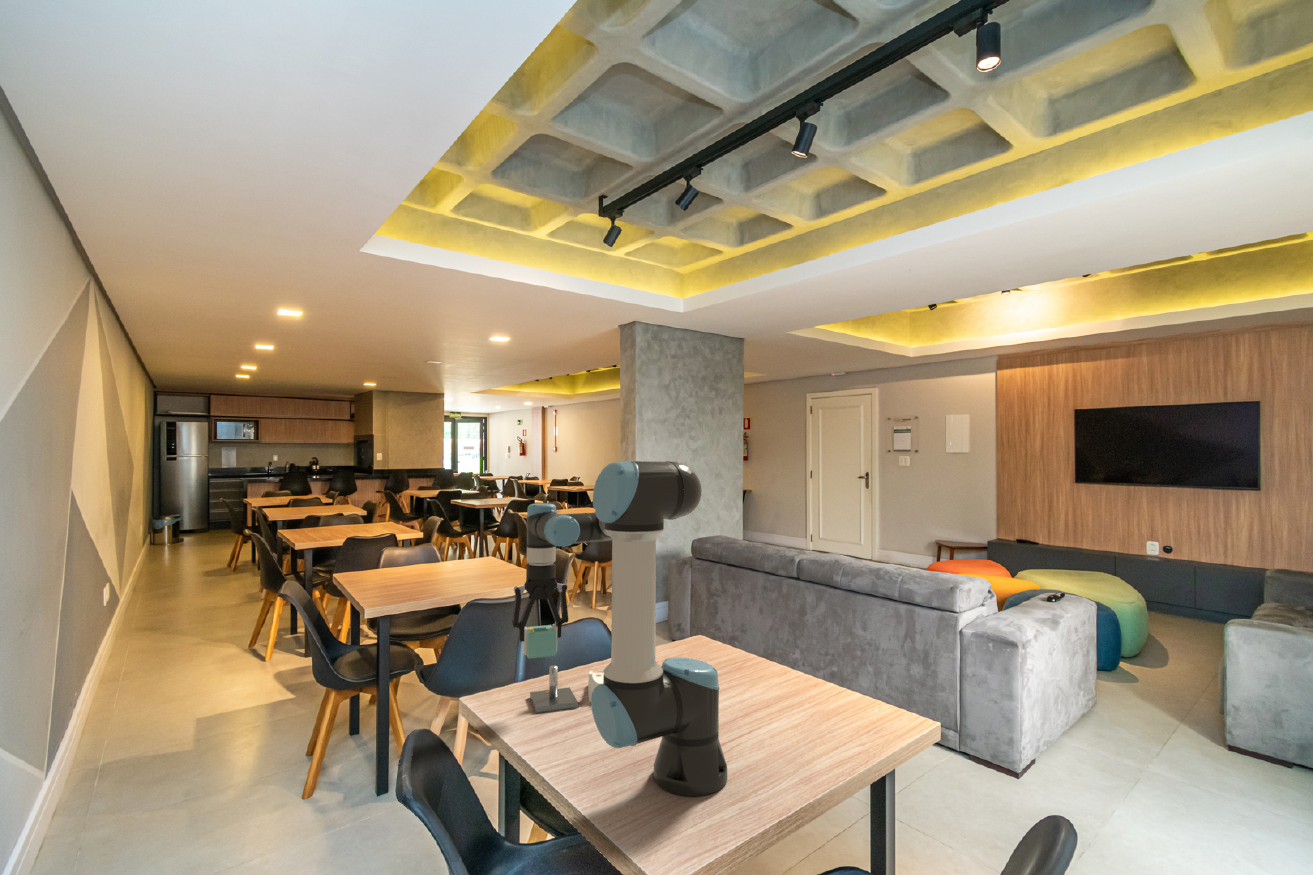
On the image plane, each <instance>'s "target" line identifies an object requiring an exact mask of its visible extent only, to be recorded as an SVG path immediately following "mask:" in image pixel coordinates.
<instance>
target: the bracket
mask: <svg viewBox="0 0 1313 875" xmlns="http://www.w3.org/2000/svg"><path fill="white" fill-rule="evenodd" d="M603 679H604V672H594V671H593V670H589V672H588V693H587V694H588V698H587V699H588V702H591V696H592V692H593V690H594V688H595V687H596V686H598V685H599V684H603Z"/></svg>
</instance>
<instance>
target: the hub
mask: <svg viewBox="0 0 1313 875" xmlns="http://www.w3.org/2000/svg"><path fill="white" fill-rule="evenodd" d="M526 627H527V629H528V632H527V655H526V657H527V658H528V659H529V660H530V659H537V658H538V659H539V658H547V657H555V656H557V652H556V631H555V630H554V628H553V625H552V624H548V625H535V626H526Z"/></svg>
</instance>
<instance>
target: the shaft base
mask: <svg viewBox="0 0 1313 875" xmlns="http://www.w3.org/2000/svg"><path fill="white" fill-rule="evenodd" d="M558 669H559V666H558V665H555V664H554V665H550V666H549V672H548V673H549V678H548V679H549V683H548V686H549V688H548V689H547V690H546V689H545V690H538V691H537V690H536V691H530V692H529V698H530V699H529V700H530V701H531V704H532V707H533V710H534V712H535V714H539V713H548V712H554V711H555V712H557V711H565V710H570V709H578V707H579V704H578V702H579V701H578V699H577V698H576V696H575V695H574V692H573V691H572V689H571V687H561V688H558V685H559V682H558V680H559V678H558V676H559V675H558V673H559V670H558Z"/></svg>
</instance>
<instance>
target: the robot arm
mask: <svg viewBox="0 0 1313 875" xmlns="http://www.w3.org/2000/svg"><path fill="white" fill-rule="evenodd" d="M701 498H702V484H701V481H700V479H699V477H698V475H697V474H696V473H695V471H694V470H693V469H691V468H690V467H689V466H687V465H686V464H683V463H681V462H677V461H667V460H666V461H650V460H649V461H648V460H647V461H645V460H643V461H640V460H639V461H638V460H636V461H635V460H634V461H633V460H626V461H615V462H610V463H608V464H607V465H605V467H603V468H602V470H601V472H600V473H599V474H598V476H597V478H596V481H595V484H594V487H593V494H592V505H593V509H594V510H595V511H594V512H581V513H580V512H578V513H558V512H557V506H556V505H555V504H554V503H543V502H542V503H540V502H539V503H531V504H529V505H528V506H527V513H526V518H525V520H526V563H527V565H526V567H525V568H526V575H525V576H526V577H525V578H526V579H525V582H524V584H523V585H521V586H514V587H513V591H514V604H513V611H512V618H511V625H512V626H513V628H517V629H518V639H519V642H522V653H523V655H524V656H527V632H528V629H527V627H528V626H526V625H527V623H528V620H529V617H530V616H531V612H532V610H533V607H534V605H535V602H536V601H540V600H546V601H547V603H548V605H549V608H550V611H551V613H552V614H551V615H552V616H553V619H554V623H553V624H552V627H553V628H554V630H555V631H556V653H557V652H558V638H561V637H562V626H563V624H566V623H569V612H568V604H567V591H568V585H567V584H566V583H558V581H557V580H556V578H557V577H556V574H557V572H556V568H557V566H556V564H555V562H556V560H557V558H556V556H557V550H556V549H557V547H570V546H571V545H572V546H573V544H575V545H576V544H585V543H597V542H598V543H599V542H611V543H612V547H611V551H612V552H611V647H610V648H611V651H610V652H611V655H610V656H611V661H610V662H609V664H608V665H606V666H605V668H604V669H603V673H604V679H603V684H599V685H598V686H596V687H595V688H594V690H593V692H592V696H591V701H590V702H591V703H590V704H591V712H592V717H593V719H594V724H595V726H596V728H597V730H598V732H599V735H600V736H601V738H602V739H603V740H604V741H605V743H606V744H607V745H608V746H610V747H611V748H613V749H622V748H626V747H627V748H628V747H635V746H637V745H639V744H641V743H645V742H649V741H651V740H655V739H658V738H661V740H660V743H659V747H658V750H657V753H656V756H655V759H654V763H653V780H654V783H656V785H658V787H660V788H661V789H662V790H664V791H666V792H668V793H671V794H674V795H678V796H685V797H700V796H707V795H711V794H713V793H716V792H718V791H720V790H721V789H722V788H724V787H725V786H726V784H727V782H728V765H727V762H726V759H725V755H724V751H723V749H722V745H721V742H720V738H719V735H720V734H719V733H720V732H719V725H720V724H719V714H720V712H719V709H720V708H719V703H720V702H719V700H720V699H719V697H720V695H719V692H720V686H719V685H720V684H719V674H718V671H717V669H716V667H714V666H713V665H712V664H710V663H707V662H706V661H703V660H699V659H695V658H687V657H671V658H666V659H664V660H663V661H662V664H661V665H660V664H659V663H657V661H656V624H657V623H656V620H657V619H656V618H657V617H656V613H657V612H656V609H657V608H656V606H657V605H656V604H657V602H656V600H657V599H656V598H657V596H656V595H657V594H656V591H657V590H656V589H657V588H656V587H657V585H656V584H657V578H656V576H657V574H656V573H657V569H656V568H657V567H656V566H657V565H656V564H657V563H656V562H657V538H658V537H659V536H660V535H661V534H662V533H663V532H664V530H665V527H664V526H665V524H664V523H665V522H664V520H669V521H672V520H676V519H679V518H683V517H687V516H688V515H689V514H692V513H693V511H695V509H696V508H697V507H698V505H699V503H700V502H701ZM556 589H557V592H558V593H559V602H560V612H561V617H560V614H559V612H558V609H557V606H556V604H555V599H554V598H553V593H554V592H555V591H556ZM525 590H526V592H527V593H528V597H527V602H526V604H525V607H524V609H523V612H522V614H521V617H520V610H521V604H522V595H524V592H525ZM519 618H520V619H519ZM519 620H520V621H519Z"/></svg>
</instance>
